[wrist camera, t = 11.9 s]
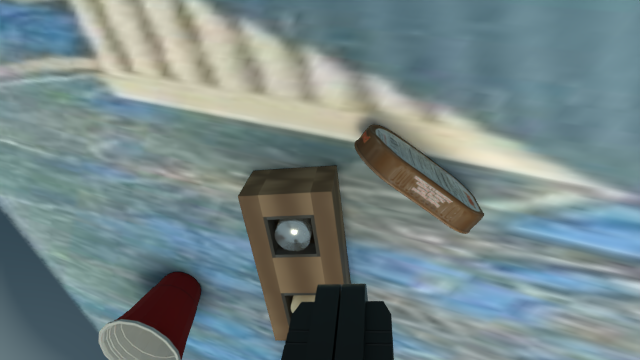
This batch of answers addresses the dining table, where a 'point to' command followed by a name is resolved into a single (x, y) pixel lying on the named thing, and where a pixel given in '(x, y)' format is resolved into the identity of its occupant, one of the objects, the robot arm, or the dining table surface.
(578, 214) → the dining table surface
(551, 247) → the dining table surface
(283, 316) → the collar block
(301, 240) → the steel peg
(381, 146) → the tin
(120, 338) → the plastic cup
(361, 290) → the robot arm
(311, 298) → the birch peg
